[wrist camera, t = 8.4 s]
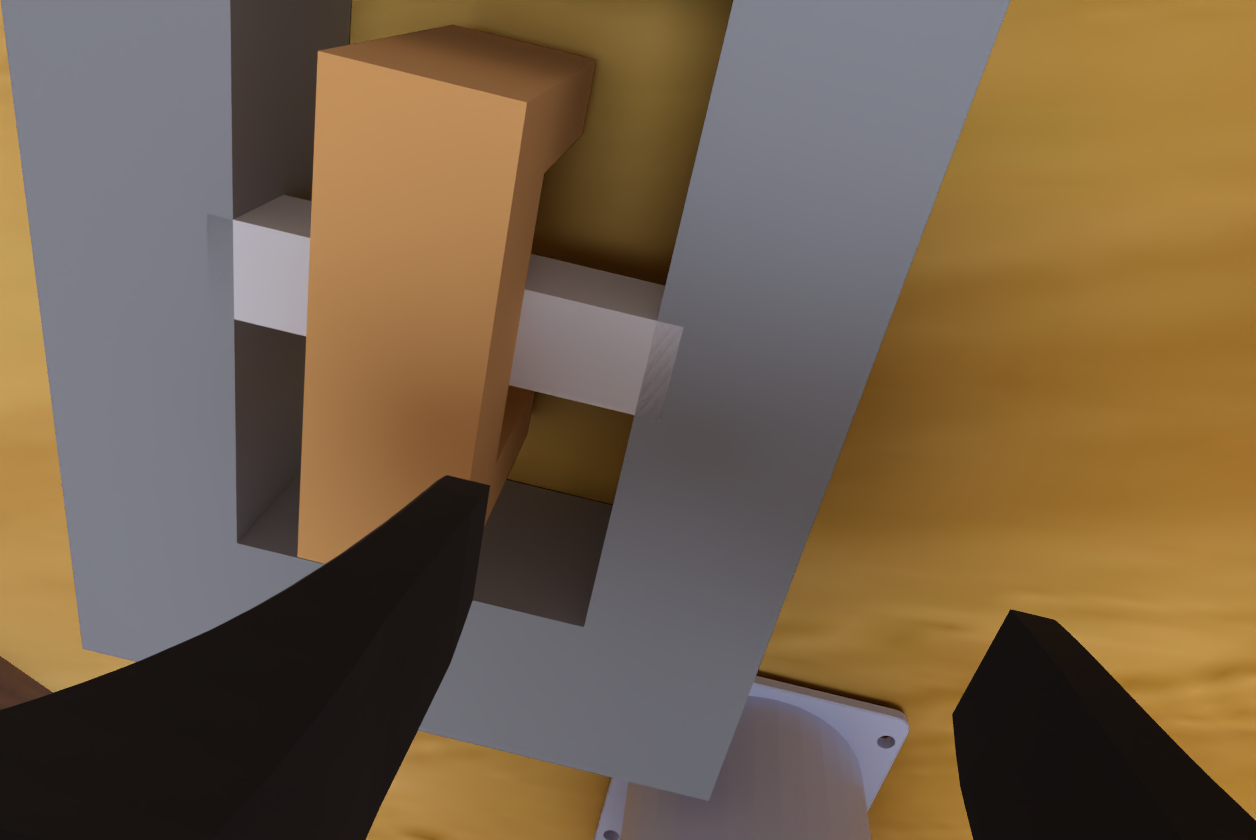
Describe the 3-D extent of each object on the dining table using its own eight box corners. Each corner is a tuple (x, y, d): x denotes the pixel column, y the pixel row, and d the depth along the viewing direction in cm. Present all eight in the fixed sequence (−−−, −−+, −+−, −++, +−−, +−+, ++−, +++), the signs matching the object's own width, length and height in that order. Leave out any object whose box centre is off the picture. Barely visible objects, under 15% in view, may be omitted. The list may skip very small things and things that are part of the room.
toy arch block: (527, 434, 22) (452, 595, 16) (411, 406, 22) (297, 556, 16) (595, 60, 18) (527, 102, 12) (453, 24, 18) (318, 50, 12)
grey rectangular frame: (714, 659, 26) (708, 801, 22) (194, 533, 26) (82, 648, 22) (1021, -238, 16) (1130, -318, 11) (154, -439, 16) (-75, -598, 11)
